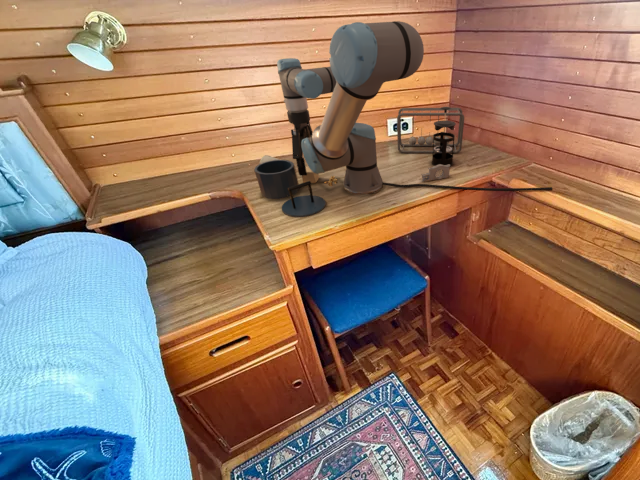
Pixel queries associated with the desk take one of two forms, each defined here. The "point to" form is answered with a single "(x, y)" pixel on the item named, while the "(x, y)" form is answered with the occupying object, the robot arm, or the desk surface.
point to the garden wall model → (433, 170)
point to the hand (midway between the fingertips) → (308, 168)
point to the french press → (443, 142)
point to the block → (310, 176)
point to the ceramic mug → (267, 159)
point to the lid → (303, 203)
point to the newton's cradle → (429, 139)
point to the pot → (276, 178)
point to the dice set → (331, 181)
